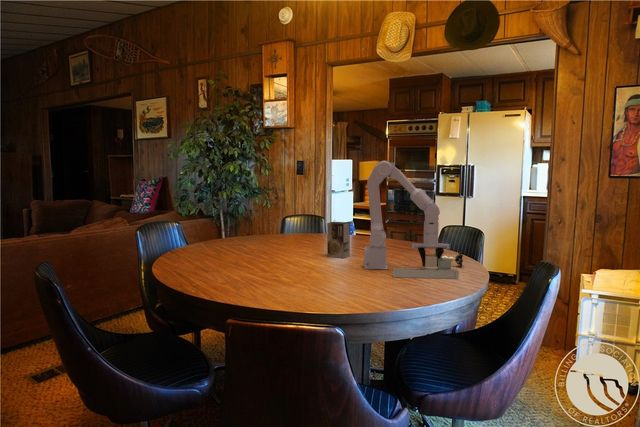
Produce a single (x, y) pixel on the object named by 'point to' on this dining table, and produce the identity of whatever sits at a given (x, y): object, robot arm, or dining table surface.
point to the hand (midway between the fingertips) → (430, 266)
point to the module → (430, 261)
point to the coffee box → (338, 239)
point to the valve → (457, 258)
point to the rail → (429, 271)
